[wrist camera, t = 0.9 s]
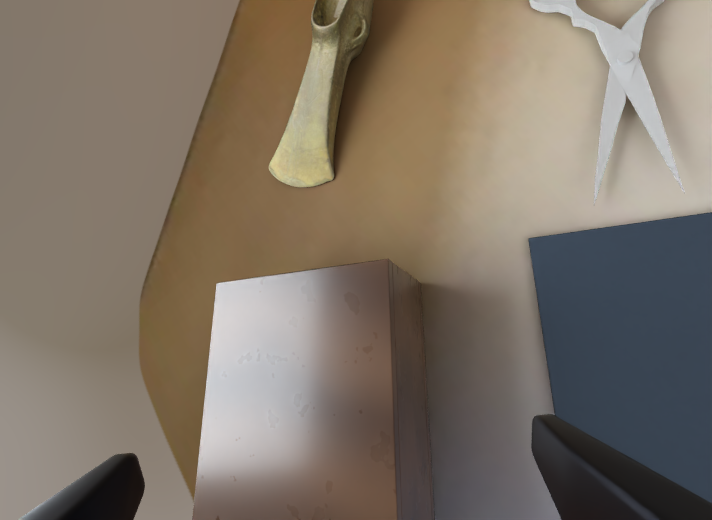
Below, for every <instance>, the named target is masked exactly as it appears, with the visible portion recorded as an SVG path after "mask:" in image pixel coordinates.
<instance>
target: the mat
mask: <svg viewBox="0 0 712 520" xmlns="http://www.w3.org/2000/svg"><path fill="white" fill-rule="evenodd" d="M529 246H530V253H531V259H532V266H533V272H534V279H535V286H536V292H537V299H538V305H539V312H540V319H541V325H542V332H543V338H544V345H545V351H546V358H547V365H548V371H549V378H550V384H551V391H552V398H553V404H554V411H555V416H557V417H559V418H560V419H562V420H564V421H566V422H568V423H569V424H571V425H573V426H575V427H577V428H578V429H580V430H582V431H584V432H585V433H587V434H589V435H591V436H593V437H594V438H596V439H598V440H600V441H602V442H603V443H605V444H607V445H609V446H611V447H612V448H614V449H616V450H618V451H619V452H621V453H623V454H625V455H627V456H628V457H630V458H632V459H634V460H636V461H637V462H639V463H641V464H643V465H645V466H646V467H648V468H650V469H652V470H653V471H655V472H657V473H659V474H661V475H662V476H664V477H666V478H668V479H670V480H671V481H673V482H675V483H677V484H679V485H680V486H682V487H684V488H686V489H687V490H689V491H691V492H693V493H695V494H696V495H698V496H700V497H702V498H704V499H705V500H707V501H709V502H711V503H712V212H711V213H704V214H697V215H690V216H683V217H676V218H669V219H662V220H655V221H648V222H641V223H634V224H627V225H619V226H612V227H605V228H598V229H591V230H584V231H577V232H570V233H563V234H556V235H549V236H542V237H535V238H529Z"/></svg>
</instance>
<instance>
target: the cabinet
mask: <svg viewBox="0 0 712 520" xmlns="http://www.w3.org/2000/svg"><path fill="white" fill-rule="evenodd" d="M192 520H435V514H434V498H433V481H432V464H431V448H430V431H429V415H428V398H427V381H426V365H425V348H424V331H423V315H422V298H421V283H420V282H419V281H418V280H416V279H415V278H414V277H412V276H411V275H409V274H408V273H407V272H405V271H404V270H403V269H401V268H400V267H398V266H397V265H396V264H394V263H393V262H392V261H390V260H389V259H383V260H376V261H369V262H362V263H354V264H347V265H340V266H333V267H326V268H319V269H312V270H305V271H298V272H291V273H284V274H276V275H269V276H262V277H255V278H248V279H241V280H234V281H227V282H220V283H217V285H216V295H215V305H214V314H213V324H212V334H211V343H210V353H209V363H208V373H207V382H206V392H205V402H204V411H203V421H202V431H201V440H200V450H199V460H198V470H197V479H196V489H195V499H194V509H193V518H192Z"/></svg>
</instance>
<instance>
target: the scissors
mask: <svg viewBox="0 0 712 520" xmlns="http://www.w3.org/2000/svg"><path fill="white" fill-rule="evenodd" d="M664 1H665V0H648V1H647V2H646V3H645V4H644V5H643V6H642V8H641V9H639V10H638V11H637V12H636V13H635V14H634V15H633V16H632V17H631V18H630V19H629V20H628V21H627V22H626V24H625V25H624V26H623V27H622V29H619V28H616V27H614V26H612V25H610V24H608V23H606V22H604V21H601V20H599V19H597V18H594V17H592V16H590V15H588V14H586V13H584V12H583V11H582V10H581V9H580V8H579V7H578V6H577V4H576V0H529V2H530V5H531V7H532V8H534V9H536V10H538V11H541V12H547V13H553V12H560V13H563V14H565V15H568V16H570V17H571V20H572V25H573V26H574V27H582V28H586V29H588V30H590V31H592V32H594V33H595V35H596V38H597V40H598V43H599V45H600V48H601V50H602V52H603V54H604V56H605V58H606V59H607V61H608V62H609V64H610V69H609V75H608V81H607V87H606V93H605V99H604V105H603V111H602V120H601V128H600V139H599V150H598V159H597V167H596V176H595V191H594V204H595V201H596V198H597V195H598V191H599V188H600V185H601V182H602V178H603V175H604V172H605V168H606V165H607V162H608V159H609V155H610V152H611V149H612V145H613V141H614V138H615V134H616V130H617V126H618V123H619V120H620V117H621V114H622V111H623V108H624V105H625V102H626V95H627V96H628V98H629V100H630V101H631V103H632V105H633V107H634V108H635V110H636V112H637V114H638V116H639V117H640V119H641V121H642V123H643V125H644V126H645V128H646V130H647V131H648V133H649V135H650V136H651V138H652V140H653V141H654V143H655V145H656V146H657V148H658V150H659V151H660V153H661V155H662V157H663V158H664V160H665V162H666V163H667V165H668V167H669V168H670V170H671V172H672V173H673V175H674V177H675V178H676V180H677V182H678V183H679V185H680V187H681V188H682V190H683V192H684V189H683V186H682V183H681V180H680V177H679V174H678V170H677V167H676V164H675V161H674V158H673V155H672V151H671V148H670V145H669V142H668V139H667V136H666V133H665V129H664V126H663V123H662V120H661V117H660V114H659V111H658V108H657V105H656V102H655V99H654V96H653V94H652V91H651V88H650V86H649V83H648V80H647V78H646V75H645V72H644V70H643V67H642V64H641V62H640V59H639V57H638V54H639V51H640V47H641V42H642V37H643V31H644V27H645V24H646V20H647V17H648V15H649V14H650V13H651V11H652V10H653V9H654V8H655V7H657V6H658V5H660V4H661V3H663V2H664ZM684 193H685V192H684Z"/></svg>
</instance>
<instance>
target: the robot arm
mask: <svg viewBox="0 0 712 520" xmlns="http://www.w3.org/2000/svg"><path fill="white" fill-rule="evenodd" d="M531 447H532V453H533V456H534V459H535V461H536V463H537V465H538V468H539V470H540V472H541V474H542V477H543V479H544V481H545V483H546V486H547V488H548V490H549V492H550V495H551V497H552V499H553V501H554V503H555V506H556V508H557V510H558V512H559V515H560V517H561V519H562V520H712V503H711V502H709V501H707V500H705V499H704V498H702V497H700V496H698V495H696V494H695V493H693V492H691V491H689V490H687V489H686V488H684V487H682V486H680V485H679V484H677V483H675V482H673V481H671V480H670V479H668V478H666V477H664V476H662V475H661V474H659V473H657V472H655V471H653V470H652V469H650V468H648V467H646V466H645V465H643V464H641V463H639V462H637V461H636V460H634V459H632V458H630V457H628V456H627V455H625V454H623V453H621V452H619V451H618V450H616V449H614V448H612V447H611V446H609V445H607V444H605V443H603V442H602V441H600V440H598V439H596V438H594V437H593V436H591V435H589V434H587V433H585V432H584V431H582V430H580V429H578V428H577V427H575V426H573V425H571V424H569V423H568V422H566V421H564V420H562V419H560V418H559V417H557V416H555V415H552V414H547V415H537V416H535V417H534V418H533V421H532V443H531ZM144 488H145V483H144V478H143V475H142V471H141V468H140V465H139V461H138V458H137V456H136V455H135V454H133V453H127V454H117V455H114V456H112V457H111V458H109V459H108V460H106V461H105V462H103V463H102V464H100V465H99V466H97V467H96V468H94V469H93V470H91V471H90V472H88V473H87V474H85V475H84V476H82V477H81V478H79V479H78V480H76V481H75V482H73V483H72V484H71V485H69V486H67V487H66V488H64V489H63V490H61V491H60V492H58V493H57V494H56V495H54V496H53V497H51V498H50V499H48V500H46V501H45V502H44V503H42V504H40V505H39V506H38V507H36V508H35V509H33V510H32V511H30V512H29V513H27V514H26V515H24V516H23V517H21V518H20V519H18V520H133V519H134V517H135V514H136V512H137V509H138V506H139V504H140V501H141V499H142V496H143V493H144Z"/></svg>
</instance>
